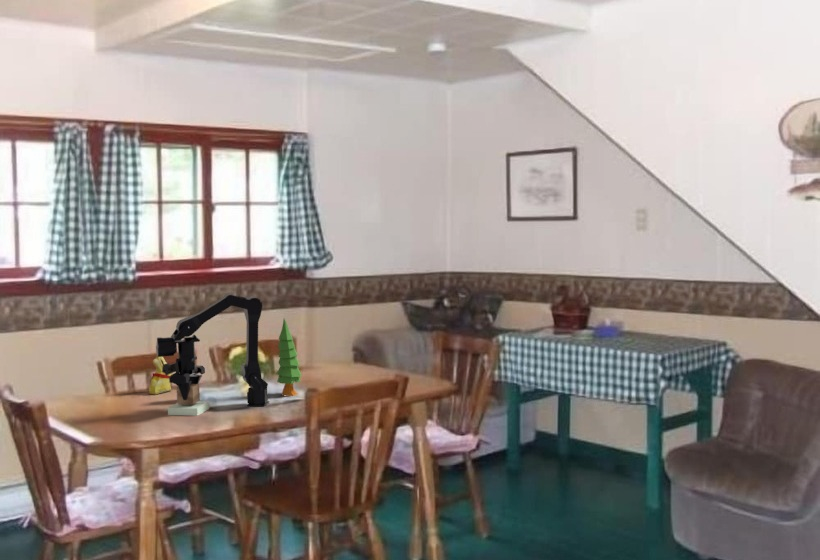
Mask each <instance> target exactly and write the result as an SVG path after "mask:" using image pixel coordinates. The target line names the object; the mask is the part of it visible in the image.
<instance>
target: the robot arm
mask: <svg viewBox="0 0 820 560" xmlns="http://www.w3.org/2000/svg"><path fill="white" fill-rule="evenodd" d="M230 307H236V308H241V309H243V311H244V312H243V313H244V317H245V320H246V344H245V345H246V346H245V347H246V349H245V350H246V354H245V355H246V356H245V357H246V358H245V362H244V363H243V364H242V363H241V364H240V370H241V371H240V372H241V373H240V375H241V377H242V379H243V381H244V382H245V383H246V384H248V391H247V393H246V395H247V396H246V397H247V398H246V401H247V402H246V403H247V404H246V406H247V407H265V406H266V405H268V404H270V401H269V400H268V386H269V384H268V383H267V382H266V381H265V379H263V378H262V373H261V366H260V362H259V322H260V319H261V316H262V311H263V302H262V300H260V298H258V297H255V296H253V295H251V296H247V297H243V296H239V295H233V294H231V293H227V294H225V295H224V296H223V297H222V298H220V299H218V300H217V301H215V302H214V303H212V304H210V305H209V306H207V307H206V308H203V309H202V310H201V311H199V312H198V313H195V314H192V315H188V316H186V317H184V318H181V319H179V320H178V321H177V323H176V326H175V328H176V329H175V330H174V331H173V333H172V334H171V336H169V337H168V336H167V337H162V336H160V337H156V345H155V350H156V351H155V352H156V357H163V358H164V357H172V356H173V357H174V356H175V354H178V357H177V358H176V359H175V362H174V363H170V362H166V363H167V364H164V365H163V368H162V372H164V373H165V375H166V376H167V375H169V374H171V373H172V375H171V376H170V377H169V383H171V384H175V385H176V387H179V389H180V392H181V395H182V397H183V400H187V397H188V393H189V389H190V386H191V384H198V383H199V384H200V381H201V380H202V377H203V374H205V373H206V368H205V367H204V366H203V365H196V360H198V356H196V354H195V353H196V351H195V343H197V342H201V339H200V338H198V337H197V336H196V334H195V333H196V332H197V331H198V330H199V329H200V328H201V327H202V325H203V324H205V323H207V322H208V321H209V320H211V319H212V318H214V317H215V316H217V315H219V314H221V313H222V312H223V311H225V310H227V309H228V308H230ZM177 352H178V353H177Z"/></svg>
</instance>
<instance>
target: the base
mask: <svg viewBox="0 0 820 560" xmlns="http://www.w3.org/2000/svg"><path fill="white" fill-rule="evenodd" d="M208 410H210V401H201V400H200V401H198V402H196V403H195V404H177V402H176V403H174V404H172V405H171V406H169V407H167V415H168V416H194V417H195V416H199V415H201V414H203V413H204V412H206V411H208Z"/></svg>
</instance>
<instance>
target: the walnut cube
mask: <svg viewBox="0 0 820 560" xmlns="http://www.w3.org/2000/svg"><path fill="white" fill-rule="evenodd" d="M200 395H201V394H200V383H199V384H191V386H190V389H189V393H188V397H187V400H183V397H182V395H181V392H180V389H179V387H178V386H176V403H177V404H195V403H196V402H198V401H201V397H200Z"/></svg>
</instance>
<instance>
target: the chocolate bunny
mask: <svg viewBox="0 0 820 560" xmlns="http://www.w3.org/2000/svg"><path fill="white" fill-rule="evenodd" d="M167 363H168V362H166V360H165V358H164V357H157V356H156V357H155V358H154V359H153V360H152V364H153V365H154V367H155V372H153V373H152V376H151V378H150V379H151V380H150V384H149V387H148V388H149V389H148V392H149V394H150V395H158V394H162V393H166V392H167V393H168V392H171V391H172V387H171V384H172V383H169V377H170V376H171V375H172V374H173V373H171V374H169V375H167V376H166V375H165V373H164V372H162V368H163V365H164V364H167Z"/></svg>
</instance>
